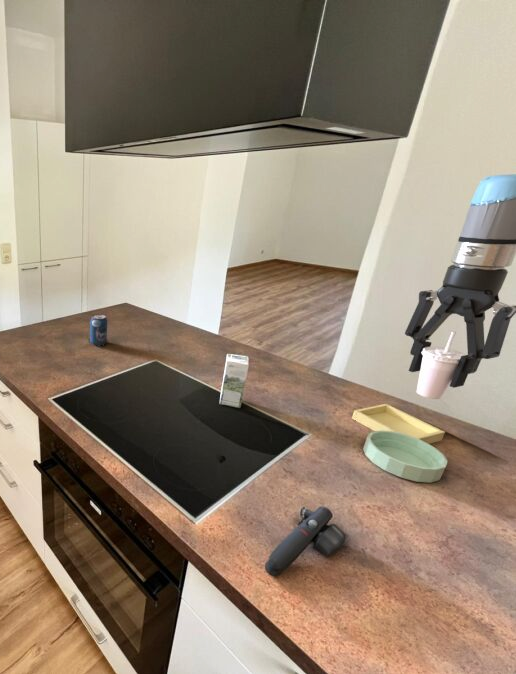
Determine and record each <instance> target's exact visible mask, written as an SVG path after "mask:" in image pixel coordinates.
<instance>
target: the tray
mask: <svg viewBox="0 0 516 674" xmlns="http://www.w3.org/2000/svg"><path fill="white" fill-rule="evenodd" d="M351 419H352V420H354V421H355V420H356V421H355V422H357V423H359V424H361V425H363V426H365V427H366V428H368V429H370V430H372V432H374V431H378V430H381V431H393V432H397V433H402V434H406V435H409V436H411V437H414V438H417V439H420V440H422V441H424V442H426V443H427V444H429V445H432V444H434V443H438V442H442V440H443V438H444V436H445V433H446V431H444V430H442V429H441V428H438V427H436V426H434V425H432V424H429V423H427V422H425V421H423V420H421V419H419V418H417V417H415V416H413V415H411V414H409V413H407V412H404V411H402V410H400V409H398V408H397V407H394V406H392V405H390V404H388V403H383V404H378V405H373V406H368V407H363V408H359V409H354V410H353V414H352V416H351Z"/></svg>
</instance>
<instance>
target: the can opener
mask: <svg viewBox="0 0 516 674" xmlns="http://www.w3.org/2000/svg"><path fill="white" fill-rule="evenodd" d="M299 517H300V518H301V519H300V520H299V521H298V523H297V526H296V527H295V528H294V529H293V530H292V531H291V532H290V533H289V534H287V536H286V537H285V538H284V539H282V541H280V543H279V544H278V545H277V546H276V548H274V549H273V551H272V552H271V554H269V556H268V560H267V561H266V562H265V564H264V569H265V572H266V573H267V574H268V575H270V576H271V577H274V578H275V577H279V575H281V574H283V573H284V571H286V570H287V569H288V568H289V567H290V566H291V565H292V564H293V563H294V562H295V561H296V560H297V559H298V558H299V557H300V555H302V553H303V552H304V551H305V550H306V549H307V547H309V545H310V544H311V543H312V542H314V544H313V546H312V549H313V550H315V551H316V552H318V553H319V554H320V555H322V556H324V557H325V558H328V557H330V556H332V555H334V554H336V553H337V552H338V551H340V549H341V548H342V547H343V545H344V543H345V542H346V537H347V534H346V533H345V532H344V531H343V530H342V529H341V528H340V527H339V526H338V525H337V524H336V523H332V524H330V525H329V522H330V521H331V520H332V519H333V517H334V515H333V513H332V511H331V510H330V509H329V508H328V507H326V506H319V507H318V508H317V509H316V510H315V511H313V510H311V509H309V508H308V507H305V506H301V508H300V509H299Z"/></svg>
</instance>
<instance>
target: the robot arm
mask: <svg viewBox="0 0 516 674" xmlns="http://www.w3.org/2000/svg"><path fill="white" fill-rule="evenodd" d="M515 257H516V173H513V174H512V173H511V174H494V175H489V176H486V177H484V178H483V179H481V181H480V182H479V184H478V185H477V188H476V190H475V192H474V194H473V196H472V199H471V200H470V202H469V207H468V211H467V214H466V217H465V220H464V223H463V225H462V229H461V231H460V235H459V236H458V239H457V242H456V244H455V247H454V251H453V253H452V256H451V259H450V262H451V263H452V264H451V265H449V266H447V269H446V272H445V275H444V278H443V280H442V285H441V287H440V288H439V289H438V290H432V289H428V290H421V291H420V292H418V302H417V305H416V308H415V309H414V311H413V314H412V316H411V318H410V321H409V323H408V324H407V327H406V329H405V332H404V334H405V336H406V337H410V338H411V339H412V340H413V343H412V345H411V348H410V352H409V353H410V354H409V355H410V356H413V357H412V360H411V362H410V365H409V368H408V372H410V373H416V372H420V369H421V363H422V358H423V355H422V353H421V352H422V351H423V348H425V347H432V342H431V341H430V340H431V337H432V335H434V334H435V332H436V331H437V330H438V329H439V328H440V327H441V326H442V324H444V323H445V321H446V320H447V319H448V318H449V317H450V316H451V315H458V316H460V317H463V321H464V323H465V328H466V343H467V344H466V346H467V354H465V355H464V356H461V358H460V361H459V363H458V366H457V368H456V371H455V373H454V375H453V378H452V380H451V382H450V383H449V385H448V386H449V387H451V388H453V389H454V388H458V387H459V388H460V387H463V386H464V385H465V382H466V381H467V378H468V376H469V375H470V374H474V373H476V372H478V371H477V370H478V369H479V366H480V364H481V361H482V360H483V359H484V360H490V359H495V358H498V357H500V356H501V355H500V354H501V352H502V349H503V345H504V343H505V338H506V335H507V332H508V329H509V326H510V323H511V320H512V318H513V317H514V316H515V315H516V305H514V304H513V305H509V304H506V303H505V302H503V301H500V297H499V293H500V291H501V289H502V287H503V285H504V283H505V281H506V278H507V275H508V273H509V271H508V270H507V269H506V268H508V267H511V266H512V264H513V262H514V259H515ZM437 299H438V301H439V303H440V305H439V306H438V307H437V309H435V311H434V314H433V315H432V316H431V317H430V318H429V320H427V318H428V316H429V314H430V312H431V310H432V308H433V306H434V303H435V301H436V300H437ZM492 308H493V312H492V314H493V315H494V316H493V317H492V320H491V322H490V325H489V329H488V331H487V336H486V339H485V325H484V322H485V320H486V311H488V310H490V309H492ZM426 321H427V322H426ZM425 322H426V323H425Z"/></svg>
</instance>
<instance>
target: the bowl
mask: <svg viewBox="0 0 516 674" xmlns="http://www.w3.org/2000/svg"><path fill="white" fill-rule="evenodd" d="M362 450H363V453H364V455H365V456H366V458H367V459H368V460H369V461H370V462H371V463H372V464H373V465H375V466H377V467H378V468H380V469H382V470H383V471H385V472H386V473H387V472H388V473H390V474H392V475H394V476H397V477H399V478H402V479H405V480H409V481H412V482H417V483H435V482H438V481H440V480H441V479H442V476H443V474H444V472H445V470H446V467H447V465H448V462H449V461H448V459H447V458H446V456H445V454H443V453H442V452H441V451H440V450H439V449H437V448H436V447H434V446H433V445H432V444H427V443H426V442H424V441H422V440H420V439H417V438H414V437H411V436H409V435H406V434H402V433H397V432H393V431H381V430H378V431H371V432H369V434H368V435H367V436H366V439H365V442H364V445H363V448H362Z"/></svg>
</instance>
